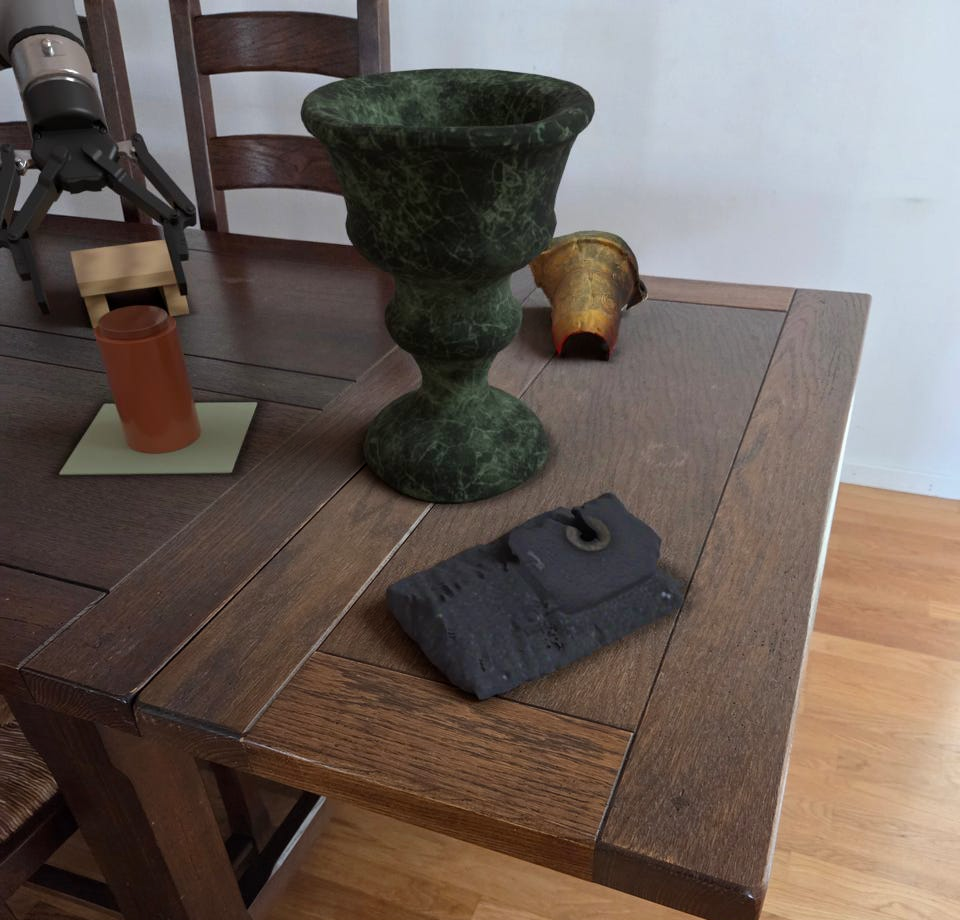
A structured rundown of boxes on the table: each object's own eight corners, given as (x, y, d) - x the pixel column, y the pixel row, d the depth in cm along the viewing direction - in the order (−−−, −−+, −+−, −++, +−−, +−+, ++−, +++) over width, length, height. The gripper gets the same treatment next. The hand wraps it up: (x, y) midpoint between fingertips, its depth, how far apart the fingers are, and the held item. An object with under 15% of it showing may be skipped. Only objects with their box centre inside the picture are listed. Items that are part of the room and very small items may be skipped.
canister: (117, 454, 85) (80, 334, 77) (137, 418, 90) (104, 302, 83) (192, 453, 85) (162, 333, 77) (208, 417, 91) (182, 302, 83)
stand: (92, 333, 107) (77, 283, 103) (84, 299, 116) (70, 251, 112) (192, 318, 111) (181, 268, 107) (178, 285, 119) (167, 239, 115)
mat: (60, 477, 83) (58, 473, 82) (105, 407, 93) (104, 403, 93) (231, 475, 83) (231, 471, 83) (257, 405, 93) (257, 402, 93)
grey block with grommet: (359, 601, 69) (353, 551, 66) (577, 510, 78) (581, 462, 75) (472, 718, 60) (472, 667, 56) (704, 599, 69) (715, 549, 66)
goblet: (301, 492, 81) (241, 116, 61) (395, 385, 97) (373, 60, 77) (534, 535, 75) (552, 140, 56) (593, 415, 91) (624, 74, 71)
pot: (521, 288, 94) (537, 184, 102) (489, 364, 103) (506, 263, 112) (669, 339, 97) (672, 234, 106) (625, 408, 107) (631, 307, 115)
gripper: (-87, 83, 84) (-28, 299, 83) (183, 66, 91) (238, 264, 90) (-62, 134, 91) (-8, 333, 90) (187, 114, 98) (237, 298, 98)
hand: (115, 299), depth 90 cm, fingers open, 13 cm apart
